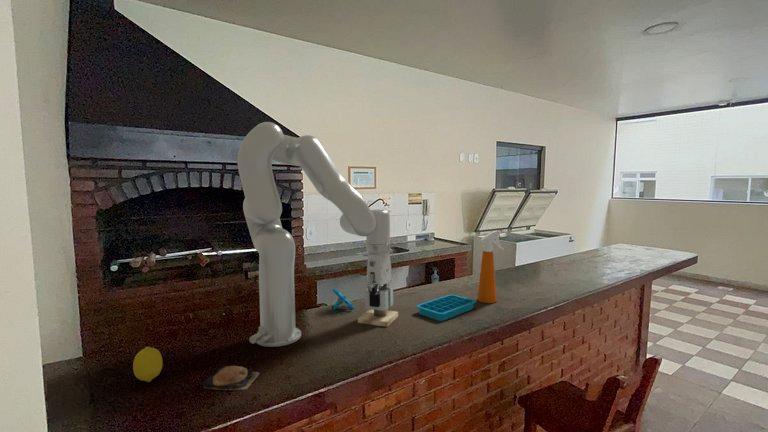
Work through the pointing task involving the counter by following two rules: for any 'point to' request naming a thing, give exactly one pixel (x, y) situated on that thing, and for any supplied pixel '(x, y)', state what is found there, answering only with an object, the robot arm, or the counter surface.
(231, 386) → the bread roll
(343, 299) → the gear
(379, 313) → the keyed post stand
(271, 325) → the robot arm
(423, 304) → the ice cube tray
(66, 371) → the counter surface
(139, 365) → the lemon
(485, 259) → the spray bottle
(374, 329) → the counter surface
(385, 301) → the grey hollow block
